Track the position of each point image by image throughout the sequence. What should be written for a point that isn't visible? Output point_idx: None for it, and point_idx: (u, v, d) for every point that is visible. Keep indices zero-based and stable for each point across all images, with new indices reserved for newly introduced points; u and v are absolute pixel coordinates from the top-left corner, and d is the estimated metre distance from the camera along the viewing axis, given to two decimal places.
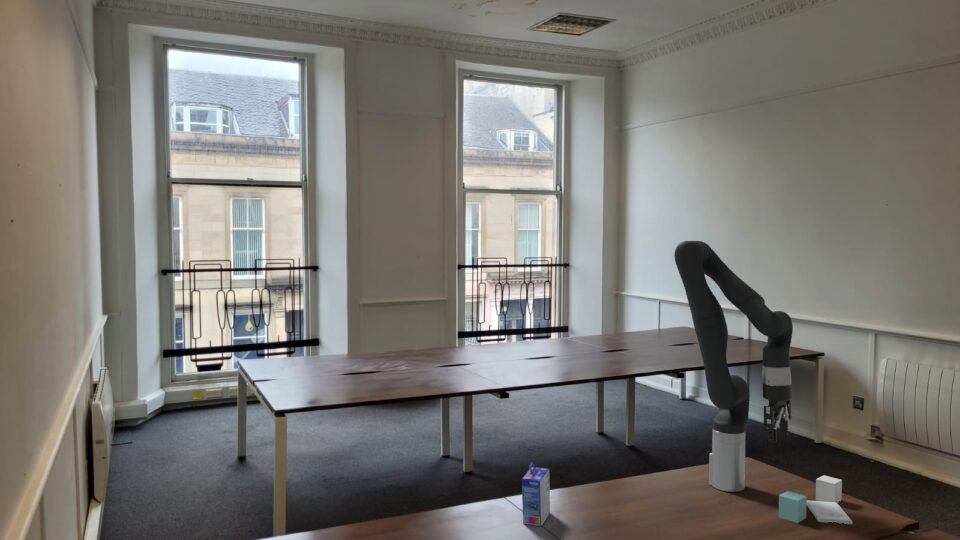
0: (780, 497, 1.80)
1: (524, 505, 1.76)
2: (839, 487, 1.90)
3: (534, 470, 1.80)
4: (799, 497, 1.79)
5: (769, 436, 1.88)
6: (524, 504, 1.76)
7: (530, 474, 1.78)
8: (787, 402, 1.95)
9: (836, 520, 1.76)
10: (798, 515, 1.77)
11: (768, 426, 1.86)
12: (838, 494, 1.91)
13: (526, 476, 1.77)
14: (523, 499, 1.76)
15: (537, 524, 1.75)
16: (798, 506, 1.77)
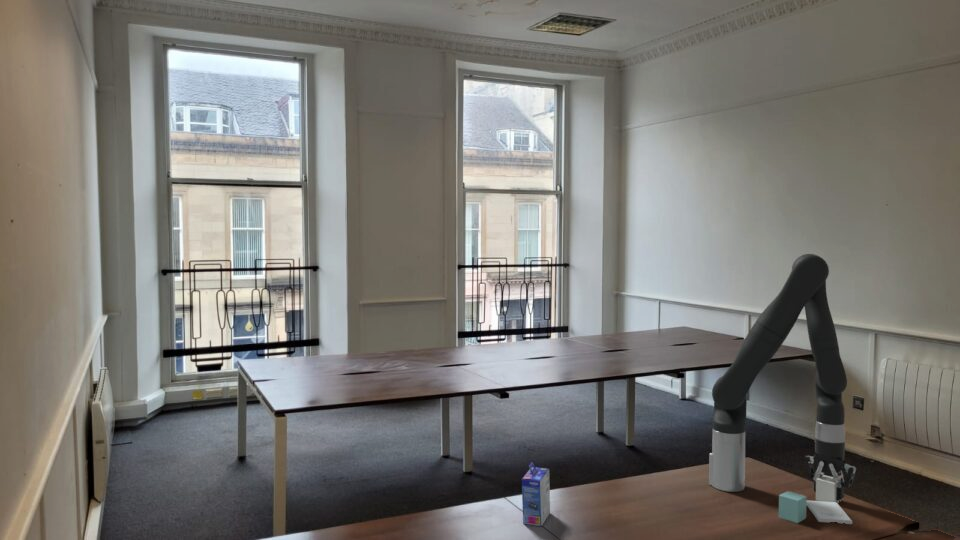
0: (780, 497, 1.80)
1: (524, 505, 1.76)
2: None
3: (534, 470, 1.80)
4: (799, 497, 1.79)
5: (842, 495, 1.89)
6: (524, 504, 1.76)
7: (530, 474, 1.78)
8: None
9: (836, 520, 1.77)
10: (798, 515, 1.77)
11: (849, 485, 1.88)
12: None
13: (526, 476, 1.77)
14: (523, 499, 1.76)
15: (537, 524, 1.75)
16: (798, 506, 1.77)
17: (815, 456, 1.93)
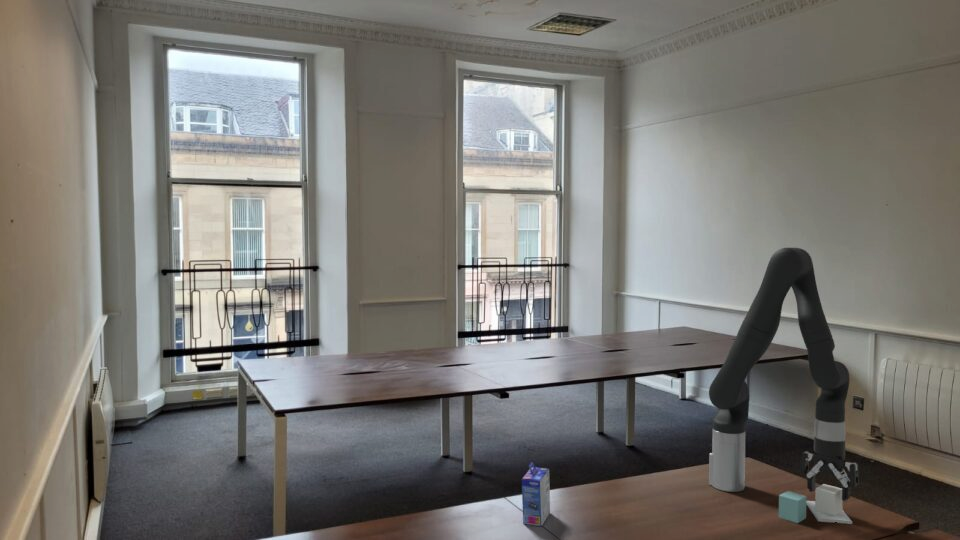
0: (780, 497, 1.80)
1: (524, 505, 1.76)
2: (839, 496, 1.81)
3: (534, 470, 1.80)
4: (799, 497, 1.79)
5: (848, 495, 1.78)
6: (524, 504, 1.76)
7: (530, 474, 1.78)
8: None
9: (836, 520, 1.77)
10: (798, 515, 1.77)
11: (856, 484, 1.77)
12: (839, 503, 1.81)
13: (526, 476, 1.77)
14: (523, 499, 1.76)
15: (537, 524, 1.75)
16: (798, 506, 1.77)
17: (815, 455, 1.84)
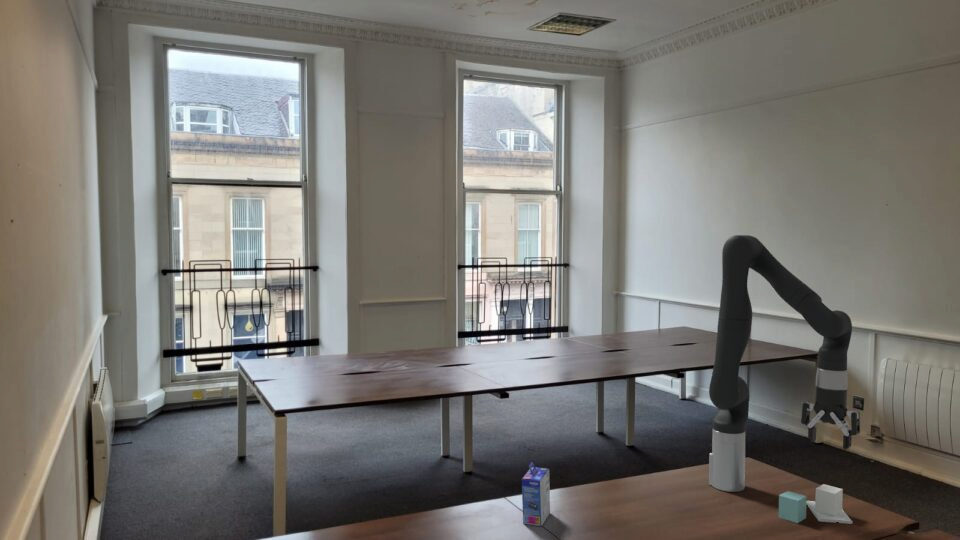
0: (780, 497, 1.80)
1: (524, 505, 1.76)
2: (839, 497, 1.81)
3: (534, 470, 1.80)
4: (799, 497, 1.79)
5: (849, 443, 1.77)
6: (524, 504, 1.76)
7: (530, 474, 1.78)
8: None
9: (836, 520, 1.77)
10: (798, 515, 1.77)
11: (858, 432, 1.76)
12: (839, 504, 1.81)
13: (526, 476, 1.77)
14: (523, 499, 1.76)
15: (537, 524, 1.75)
16: (798, 506, 1.77)
17: (816, 405, 1.83)
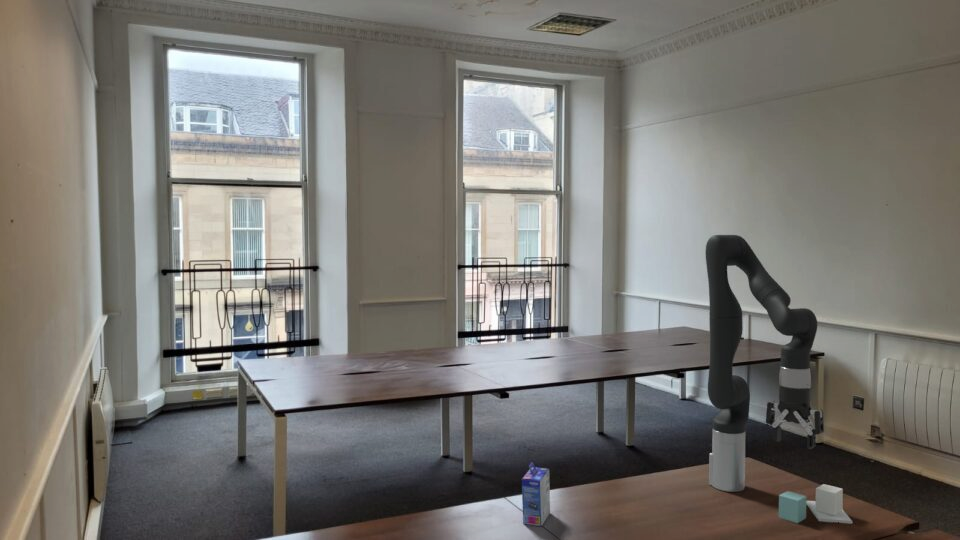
0: (780, 497, 1.80)
1: (524, 505, 1.76)
2: (839, 496, 1.81)
3: (534, 470, 1.80)
4: (799, 497, 1.79)
5: (813, 443, 1.75)
6: (524, 504, 1.76)
7: (530, 474, 1.78)
8: None
9: (836, 520, 1.77)
10: (798, 515, 1.77)
11: (821, 431, 1.74)
12: (839, 503, 1.81)
13: (526, 476, 1.77)
14: (523, 499, 1.76)
15: (537, 524, 1.75)
16: (798, 506, 1.77)
17: (780, 404, 1.80)
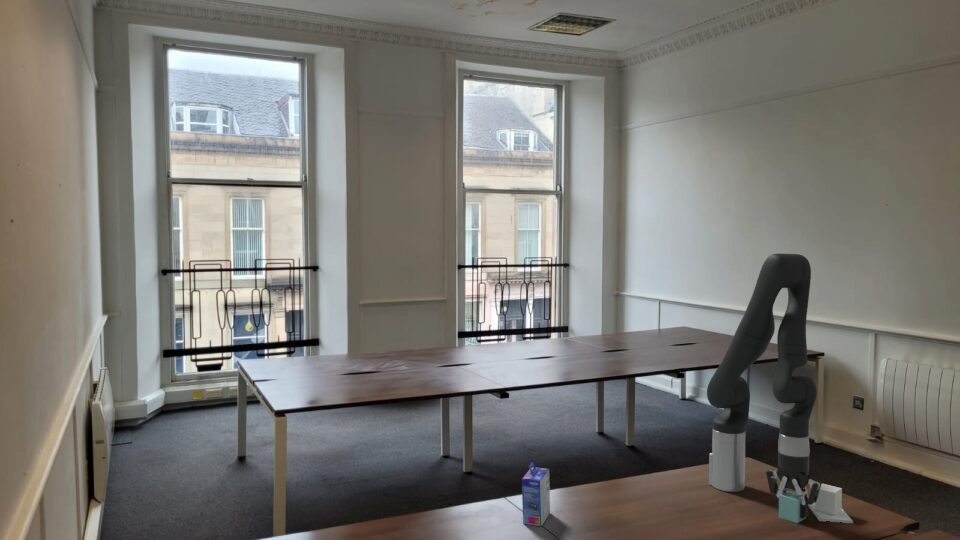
0: (780, 497, 1.80)
1: (524, 505, 1.76)
2: (839, 496, 1.81)
3: (534, 470, 1.80)
4: None
5: (806, 512, 1.77)
6: (524, 504, 1.76)
7: (530, 474, 1.78)
8: None
9: (837, 520, 1.77)
10: (798, 514, 1.77)
11: (814, 501, 1.76)
12: (839, 503, 1.81)
13: (526, 476, 1.77)
14: (523, 499, 1.76)
15: (537, 524, 1.75)
16: (798, 506, 1.77)
17: (778, 470, 1.81)
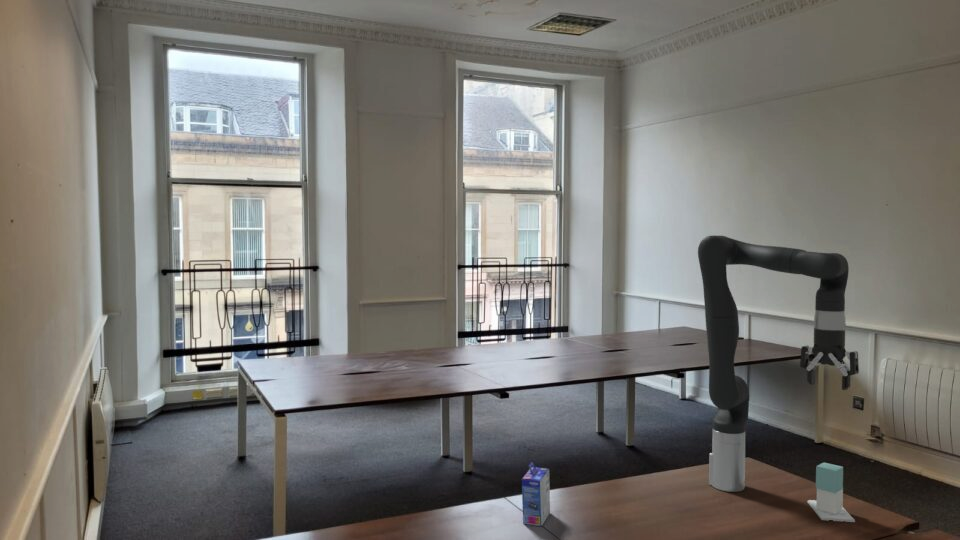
0: (817, 468, 1.82)
1: (524, 505, 1.76)
2: (840, 495, 1.82)
3: (534, 470, 1.80)
4: (836, 467, 1.81)
5: (848, 383, 1.78)
6: (524, 504, 1.76)
7: (530, 474, 1.78)
8: None
9: (839, 519, 1.78)
10: (836, 485, 1.80)
11: (856, 372, 1.77)
12: (840, 502, 1.82)
13: (526, 476, 1.77)
14: (523, 499, 1.76)
15: (537, 524, 1.75)
16: (836, 476, 1.79)
17: (815, 348, 1.84)
